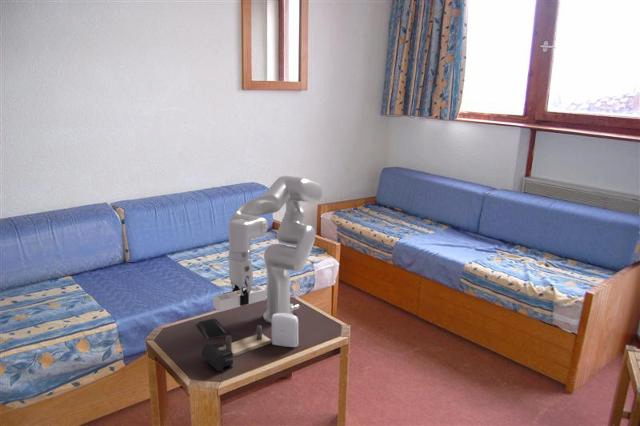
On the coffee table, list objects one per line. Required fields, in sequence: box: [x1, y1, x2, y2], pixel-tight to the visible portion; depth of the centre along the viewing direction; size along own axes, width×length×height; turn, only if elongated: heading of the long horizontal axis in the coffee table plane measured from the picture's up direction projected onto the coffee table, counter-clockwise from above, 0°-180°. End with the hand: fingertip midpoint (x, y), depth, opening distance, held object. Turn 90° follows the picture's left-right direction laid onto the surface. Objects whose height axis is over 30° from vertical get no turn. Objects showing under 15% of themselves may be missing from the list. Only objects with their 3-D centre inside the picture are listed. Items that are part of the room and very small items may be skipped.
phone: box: [197, 318, 228, 340], centre depth 197 cm, size 8×1×15 cm
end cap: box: [200, 341, 234, 373], centre depth 171 cm, size 10×7×7 cm
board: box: [218, 324, 272, 360], centre depth 184 cm, size 19×7×6 cm, turn 129°
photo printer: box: [271, 313, 299, 348], centre depth 186 cm, size 10×4×12 cm, turn 76°
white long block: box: [212, 285, 267, 313], centre depth 181 cm, size 19×5×4 cm, turn 127°
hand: (240, 301), depth 182 cm, fingers closed on white long block, 5 cm apart
